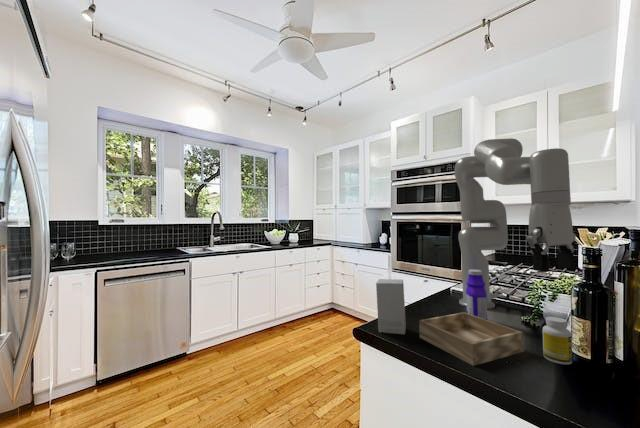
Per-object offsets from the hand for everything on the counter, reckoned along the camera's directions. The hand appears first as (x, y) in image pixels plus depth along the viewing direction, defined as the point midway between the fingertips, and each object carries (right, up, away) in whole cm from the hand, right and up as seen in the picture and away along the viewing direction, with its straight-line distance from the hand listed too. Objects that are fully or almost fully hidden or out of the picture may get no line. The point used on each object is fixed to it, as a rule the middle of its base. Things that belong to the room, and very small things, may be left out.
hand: (553, 269), depth 68 cm
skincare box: (-35, -23, +20) cm, 46 cm away
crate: (-16, -22, +9) cm, 29 cm away
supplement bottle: (0, -22, -1) cm, 22 cm away
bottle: (-5, -23, +25) cm, 35 cm away
